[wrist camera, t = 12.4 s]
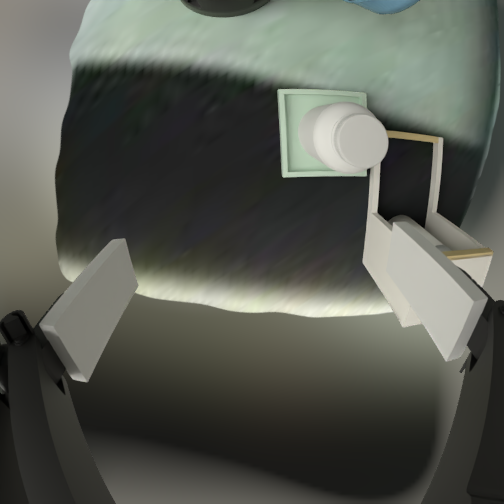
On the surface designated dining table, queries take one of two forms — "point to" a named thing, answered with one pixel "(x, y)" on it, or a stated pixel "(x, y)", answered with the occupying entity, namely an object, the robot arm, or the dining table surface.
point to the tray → (290, 114)
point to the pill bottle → (343, 137)
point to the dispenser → (436, 231)
